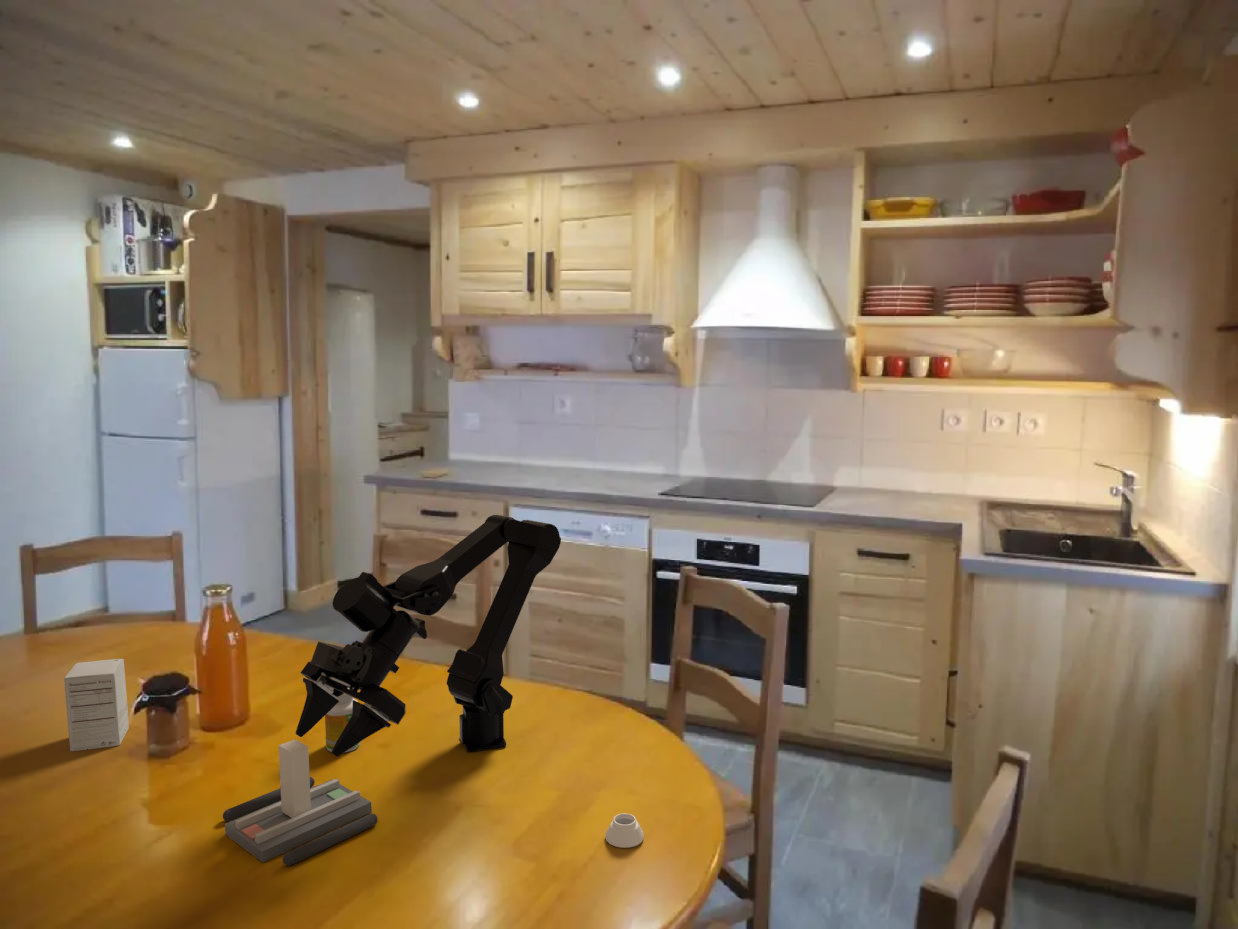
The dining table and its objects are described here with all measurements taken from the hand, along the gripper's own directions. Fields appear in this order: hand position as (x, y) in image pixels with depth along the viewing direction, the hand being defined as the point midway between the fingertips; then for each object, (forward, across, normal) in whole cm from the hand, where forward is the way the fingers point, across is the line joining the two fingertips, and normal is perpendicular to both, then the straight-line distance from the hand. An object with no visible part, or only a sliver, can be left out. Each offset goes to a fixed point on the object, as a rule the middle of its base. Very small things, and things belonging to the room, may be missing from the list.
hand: (315, 745), depth 119 cm
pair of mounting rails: (+9, 0, +5) cm, 11 cm away
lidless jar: (-9, +36, +24) cm, 44 cm away
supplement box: (+15, -49, 0) cm, 51 cm away
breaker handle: (+8, 0, +4) cm, 9 cm away
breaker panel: (+9, 0, +5) cm, 11 cm away
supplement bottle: (-3, -16, +17) cm, 24 cm away
